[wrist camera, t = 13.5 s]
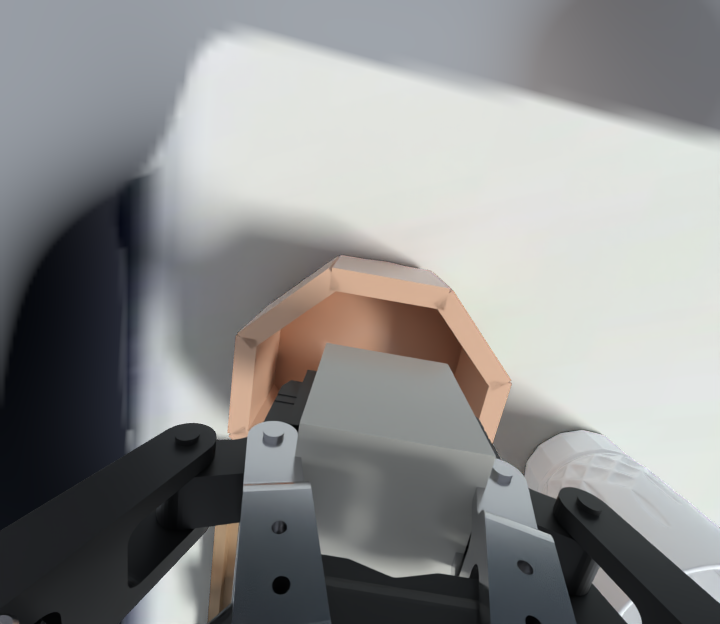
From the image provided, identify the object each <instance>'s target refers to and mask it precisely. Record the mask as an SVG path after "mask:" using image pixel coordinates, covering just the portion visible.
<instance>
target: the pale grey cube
mask: <svg viewBox="0 0 720 624" xmlns="http://www.w3.org/2000/svg"><path fill="white" fill-rule="evenodd" d="M295 456H296V457H301V459H302V467H303V475H304V481H310V484H311V489H312V495H313V502H314V509H315V516H316V523H317V529H318V536H319V543H320V550H321V554H324V555H330V556H336V557H342V558H348V559H351V560H353V561H355V562H358V563H360V564H362V565H365V566H367V567H370V568H372V569H374V570H377V571H379V572H381V573H384V574H386V575H388V576H391V577H396V578H399V577H408V576H417V575H426V574H435V573H441V574H447V575H451V565H452V562H453V559H454V556H455V553H456V552H459V553H464V552H465V549H466V546H467V543H468V540H469V537H470V534H471V531H472V500H473V496H474V493H475V490H476V487H482V488H486V485H487V482H488V479H489V476H490V473H491V470H492V467H493V464H494V461H495V458H496V455H495V453H494V451H493V450H492V448H491V446H490V444H489V442H488V440H487V438H486V436H485V434H484V432H483V430H482V428H481V427H480V425H479V423H478V421H477V419H476V417H475V415H474V413H473V411H472V409H471V407H470V405H469V404H468V402H467V400H466V398H465V396H464V394H463V392H462V390H461V388H460V386H459V384H458V382H457V381H456V379H455V377H454V375H453V373H452V371H451V369H450V367H449V365H448V364H445V363H440V362H434V361H428V360H422V359H417V358H411V357H405V356H399V355H394V354H388V353H382V352H377V351H371V350H365V349H359V348H354V347H348V346H342V345H336V344H331V343H326V346H325V349H324V352H323V355H322V358H321V361H320V364H319V367H318V370H317V373H316V376H315V379H314V382H313V385H312V388H311V391H310V394H309V397H308V400H307V403H306V406H305V409H304V412H303V415H302V418H301V421H300V424H299V431H298V438H297V445H296V452H295Z"/></svg>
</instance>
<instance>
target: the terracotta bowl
mask: <svg viewBox="0 0 720 624" xmlns="http://www.w3.org/2000/svg"><path fill="white" fill-rule="evenodd" d="M326 343H331V344H336V345H342V346H348V347H354V348H359V349H365V350H371V351H377V352H382V353H388V354H394V355H399V356H405V357H411V358H417V359H422V360H428V361H434V362H440V363H445V364H448V365H449V367H450V369H451V371H452V373H453V375H454V377H455V379H456V381H457V382H458V384H459V386H460V388H461V390H462V392H463V394H464V396H465V398H466V400H467V402H468V404H469V405H470V407H471V409H472V411H473V413H474V415H475V416H476V417H477V418H478V419H479V420H480V422H481V424H482V426H483V427H484V431H486V433H487V435H488V439H490V441H491V443H492V444H493V441H494V438H495V435H496V432H497V428H498V425H499V422H500V419H501V416H502V413H503V410H504V407H505V404H506V400H507V397H508V394H509V391H510V388H511V385H512V383H511V382H510V381H511V379H510V377H509V376H508V374H507V373H506V371H505V370H504V368H503V367H502V365H501V364H500V362H499V360H498V359H497V357H496V356H495V354H494V353H493V351H492V350H491V348H490V346H489V345H488V343H487V342H486V340H485V339H484V337H483V336H482V334H481V333H480V331H479V329H478V328H477V326H476V325H475V323H474V322H473V320H472V319H471V317H470V316H469V314H468V312H467V311H466V309H465V308H464V306H463V305H462V303H461V302H460V300H459V299H458V297H457V295H456V294H455V292H454V291H453V290H452V289H451V288H450V287H449V286H448V285H447V284H446V283H444V282H443V281H442V280H441V279H440V278H439V277H438V276H437V275H436V274H435V273H433V272H432V271H429V270H424V269H418V268H413V267H407V266H402V265H400V264H396V263H392V262H388V261H381V260H372V259H362V258H357V257H351V256H345V255H341V256H340V257H339V256H337V257H335V258H334V259H333V260H331V261H330V262H328V263H327V264H326V265H324V266H323V267H321V268H320V269H319V270H317V271H316V272H314V273H313V274H312V275H310V276H308V277H307V278H305V279H304V280H303V281H301V282H300V283H299V284H298V285H296V286H295V287H293V288H292V289H291V290H289V291H288V292H286V293H285V294H284V295H282V296H281V297H279V298H278V299H277V300H275V301H274V302H272V303H271V304H270V305H268V306H267V307H266V308H265V309H264V310H262V311H261V312H260V313H259V314H258V315H257V316H256V317H255V318H254V319H252V320H251V321H250V322H249V323H248V324H247V325H246V326H245V327H243V328H242V329H241V330H240V331H239V332H238V334H237V335H236V338H235V350H234V362H233V374H232V385H231V397H230V409H229V421H228V433H230V434H229V437H230V438H231V439H232V440H234V439H240V438H244V437H247V436H248V432H249V430H250V429H251V428H252V427H254V426H255V425H257V424H259V423H262V422H264V420H265V418H266V416H267V414H268V412H269V410H270V408H271V406H272V404H273V402H274V401H275V398H276V396H277V395H278V392H279V390H280V389H281V387H282V385H284V384H286V383H287V382H289V381H290V380H294V381H299V382H303V380H304V378H305V375H306V373H307V370H313V371H317V370H318V367H319V364H320V361H321V358H322V355H323V352H324V349H325V346H326Z"/></svg>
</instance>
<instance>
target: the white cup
mask: <svg viewBox="0 0 720 624" xmlns="http://www.w3.org/2000/svg"><path fill="white" fill-rule="evenodd" d="M524 477H525V479H526V481H527V484H528V488H530V489H532V490H534V491H537V492H539V493H542V494H545V495H547V496H550V497H552V498H555V499H557V496H558V494H559V491H560V490H561V489H562V488H564V487H574V488H578V489H581V490H584V491H586V492H589V493H590V494H592V495H594V496H596V497H597V498H599V499H600V500H602V501H603V502H604V503H606V504H607V505H608V506H609V507H610V508H611V509H613V510H614V511H615V512H616V513H617V514H618V515H619V516H621V517H622V518H623V519H624V520H625V521H626V522H627V523H629V524H630V525H631V526H632V527H633V528H634V529H635V530H637V531H638V532H639V533H640V534H641V535H642V536H643V537H645V538H646V539H647V540H648V541H649V542H650V543H651V544H653V545H654V546H655V547H656V548H657V549H658V550H659V551H660V552H662V553H663V554H664V555H665V556H666V557H667V558H668V559H670V560H671V561H672V562H673V563H674V564H675V565H676V566H678V567H679V568H680V569H681V570H682V571H683V572H684V573H686V574H687V575H688V576H689V577H690V578H691V579H692V580H694V581H695V582H696V583H697V584H698V585H699V586H700V587H702V588H703V589H704V590H705V591H706V592H707V593H708V594H710V595H711V596H712V597H713V598H714V599H715V600H716V601H718V602H719V603H720V527H719V526H717V525H716V524H715V523H714V522H713V521H712V520H710V519H709V518H708V517H707V516H706V515H704V514H703V513H702V512H701V511H700V510H699V509H697V508H696V507H695V506H694V505H693V504H692V503H691V502H689V501H688V500H687V499H685V498H684V497H683V496H681V495H680V494H679V493H677V492H676V491H675V490H673V489H672V488H671V487H670V486H669V485H668V484H667V483H666V482H664V481H663V480H662V479H660V478H659V477H658V476H656V475H655V474H654V473H652V472H651V471H650V470H649V469H648V468H647V467H646V466H644V465H642V464H640V463H638V462H637V461H635V460H634V459H633V458H631V457H630V456H629V455H627V454H626V453H625V452H624V451H623V450H621V449H620V448H619V447H618V446H617V445H616V444H614V443H613V442H612V441H611V440H610V439H609V438H607V437H606V436H605V435H602V434H598V433H594V432H589V431H585V430H578V431H571V432H565V433H559V434H557V435H556V436H554V437H552V438H550V439H549V440H547V441H545V442H543V443H542V444H540V445H539V446H538V447H537V449H536V450H535V451H534V453H533V454H532V455H531V457H530V458H529V459H528V461H527V464H526V469H525V475H524ZM592 584H593V585H594V586H595V587H596V588H597V589H598V590H599V592H600V593H601V594H602V595H603V596H604V597H605V598H606V600H607V601H608V602H609V603H610V604H611V605H612V606H613V608H614V609H615V610H616V611H617V612H618V613H619V614H620V616H621V617H622V618H623V619H624V620H625V621H626V622H627V624H642V620H641V617H640V614H639V612H638V610H637V608H636V606H635V605H634V603H633V602H632V601H631V600H630V598H629V597H628V596H627V595H626V594H625V593H624V592H623V591H622V590H621V589H620V588H619V587H618V586H617V584H616V583H615V582H614V581H613V580H612V579H611V578H610V577H609V576H608V575H607V574H606V573H605V572H604V571H603V569H602V568H601V567H599V570H598V572H597V574H596V576H595V578H594V580H593V582H592Z"/></svg>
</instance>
